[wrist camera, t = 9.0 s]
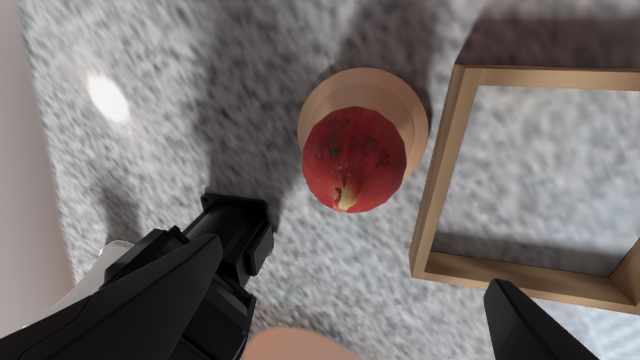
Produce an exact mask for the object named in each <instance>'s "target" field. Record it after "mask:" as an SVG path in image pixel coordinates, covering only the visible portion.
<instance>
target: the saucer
mask: <svg viewBox="0 0 640 360" xmlns="http://www.w3.org/2000/svg"><path fill="white" fill-rule="evenodd" d="M352 106H359V107H363V108H367V109H371V110H375V111H377V112H379V113H380V114H381V115H383V116H384V117H385V118H387V119H388V120H389V121H391V122H392V123H393V124H394V125H395V127H396V129H397V130H398V132H399V134H400V136H401V137H402V139H403V141H404V143H405V150H406V157H407V166H406V170H405V173H404V177H403V180H404V179H405V178H406V177H407V176H408V175H409V174H410V173H412V171H413V170H414V169H415V168H416V167H417V165H418V163H419V162H420V160H421V158H422V156H423V154H424V152H425V149H426V145H427V140H428V120H427V116H426V112H425V109H424V107H423V105H422V103H421V101H420V99H419V97H418V96H417V94H416V93H415V91H414V90H413V89H412V88H411V87H410V86H409V85H408V84H407V83H406V82H405V81H403V80H402V79H401V78H399V77H398V76H396V75H394V74H392V73H390V72H388V71H385V70H382V69H377V68H371V67H356V68H351V69H346V70H343V71H340V72H338V73H336V74H334V75H332V76H330V77H329V78H327V79H326V80H324V81H323V82H321V83H320V84H319V85H318V86H317V87H316V88H315V89H314V90H313V91H312V92H311V94H310V95H309V96H308V98H307V99H306V101H305V103H304V105H303V107H302V109H301V112H300V115H299V119H298V126H297V136H298V143H299V147H300V150H301V153H302V156H303V147H304V145H305V143H306V141H307V138H308V136H309V134H310V132H311V130H312V128H313V126H314V125H315V124H316V123H318V122H319V121H320V120H321V119H323V118H324V117H325V116H326V115H328V114H329V113H330V112H332V111H334V110H338V109H343V108H347V107H352Z"/></svg>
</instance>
